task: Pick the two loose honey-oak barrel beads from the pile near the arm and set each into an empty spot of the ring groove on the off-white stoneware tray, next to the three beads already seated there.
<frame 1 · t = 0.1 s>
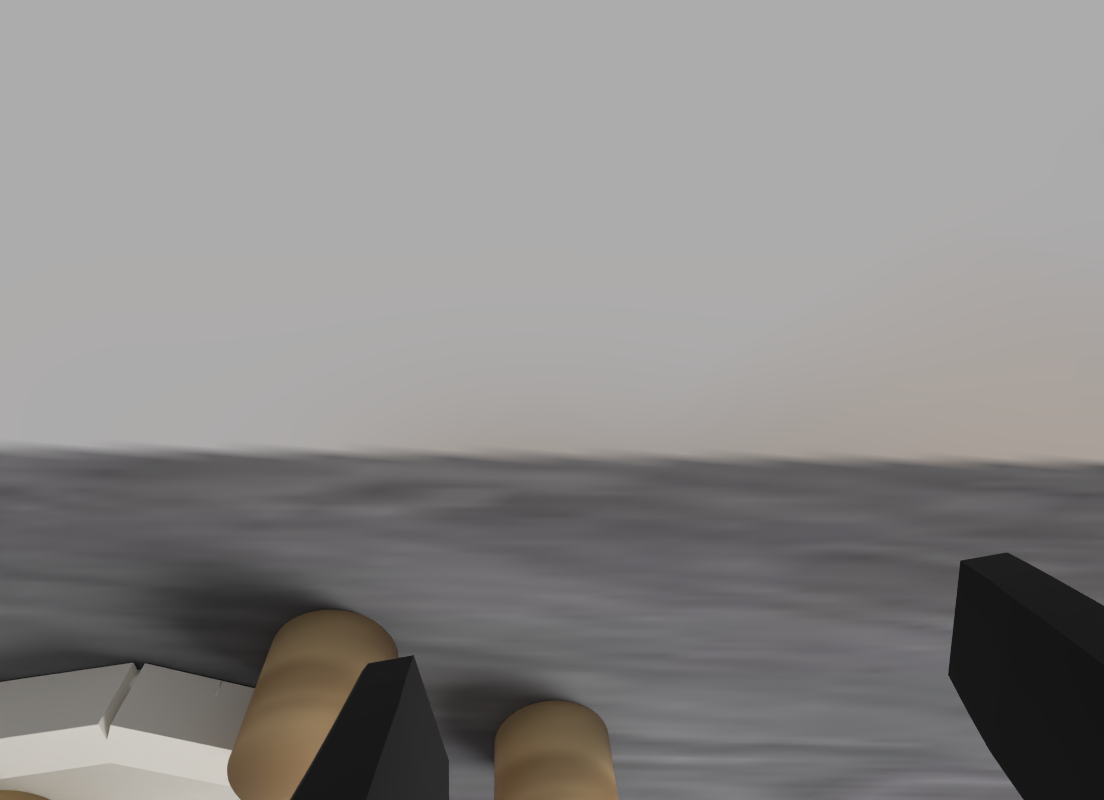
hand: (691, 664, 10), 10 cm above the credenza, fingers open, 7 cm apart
bead a: (551, 741, 25), on the credenza
bead b: (335, 657, 22), on the credenza
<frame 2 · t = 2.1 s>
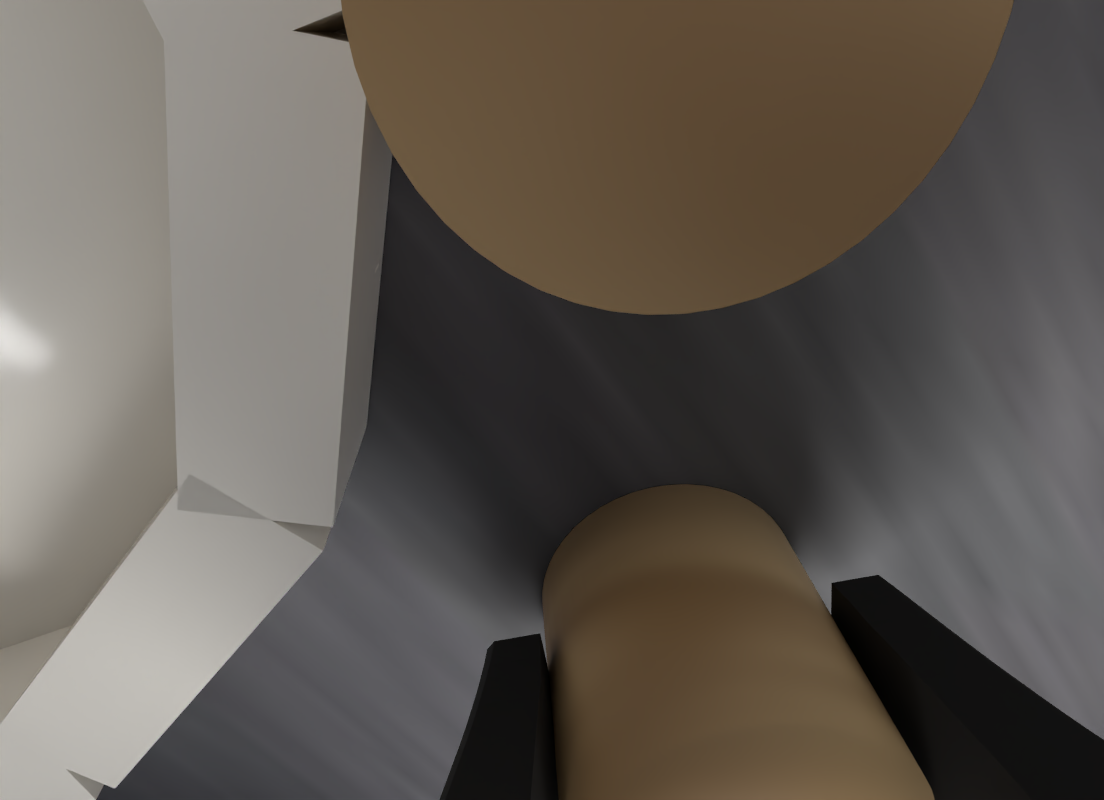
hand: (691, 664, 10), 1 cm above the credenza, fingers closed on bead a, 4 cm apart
bead a: (668, 591, 11), on the credenza, touching gripper
bead b: (597, 12, 8), on the credenza
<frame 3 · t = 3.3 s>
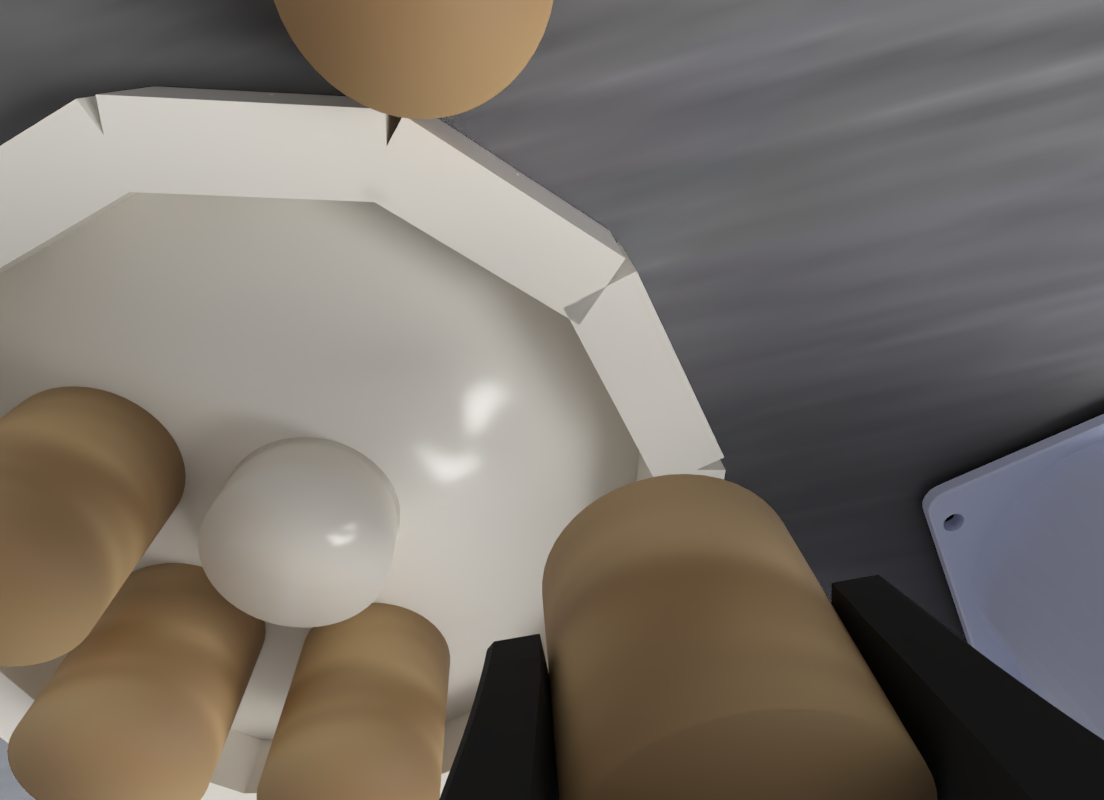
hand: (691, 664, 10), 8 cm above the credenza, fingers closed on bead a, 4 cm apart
bead seated 1: (95, 464, 16), point 1 cm above the credenza, touching tray
tray: (318, 498, 18), on the credenza
bead a: (668, 582, 11), point 7 cm above the credenza, touching gripper
bead seated 3: (376, 659, 19), point 1 cm above the credenza, touching tray
bead seated 2: (186, 624, 18), point 1 cm above the credenza, touching tray
when the fingers open (3 cm above the credenza, at t = 4.8 s): bead a drops 1 cm, resting on tray.
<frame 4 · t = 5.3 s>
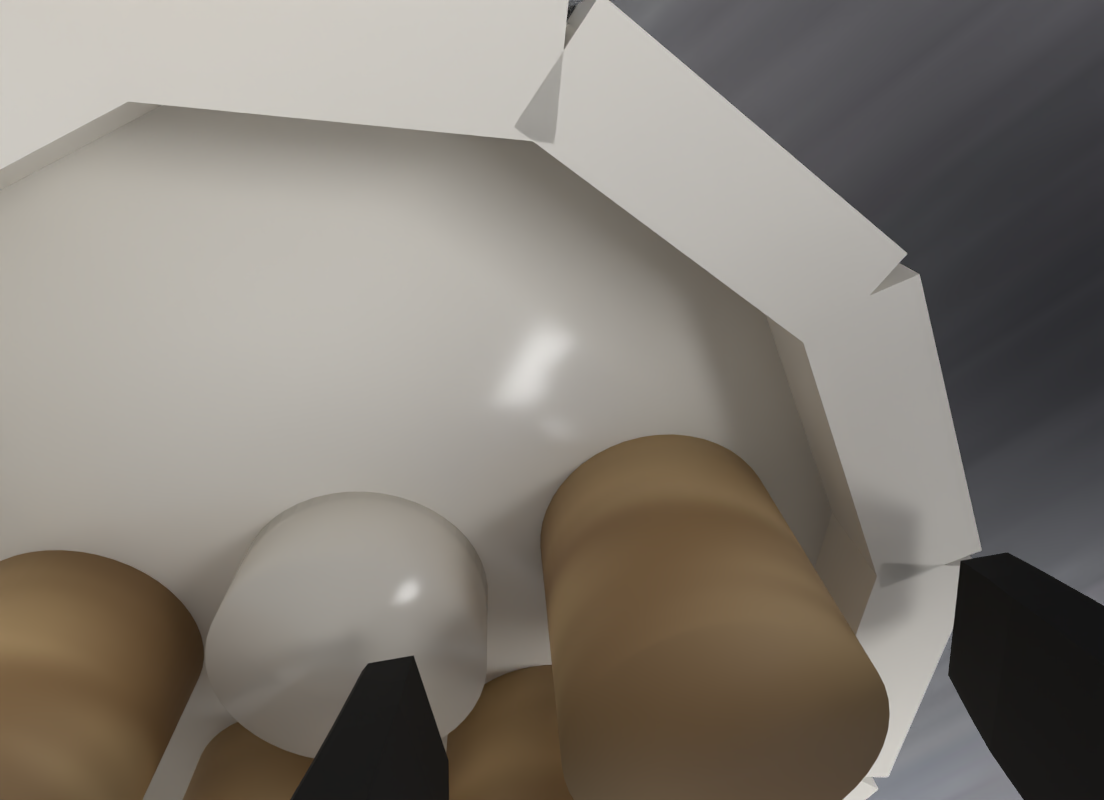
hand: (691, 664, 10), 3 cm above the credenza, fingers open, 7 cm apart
bead seated 1: (83, 642, 12), point 1 cm above the credenza, touching tray
tray: (371, 570, 13), on the credenza
bead a: (656, 536, 12), point 1 cm above the credenza, touching tray
bead seated 3: (548, 739, 14), point 1 cm above the credenza, touching tray
bead seated 2: (301, 781, 14), point 1 cm above the credenza, touching tray
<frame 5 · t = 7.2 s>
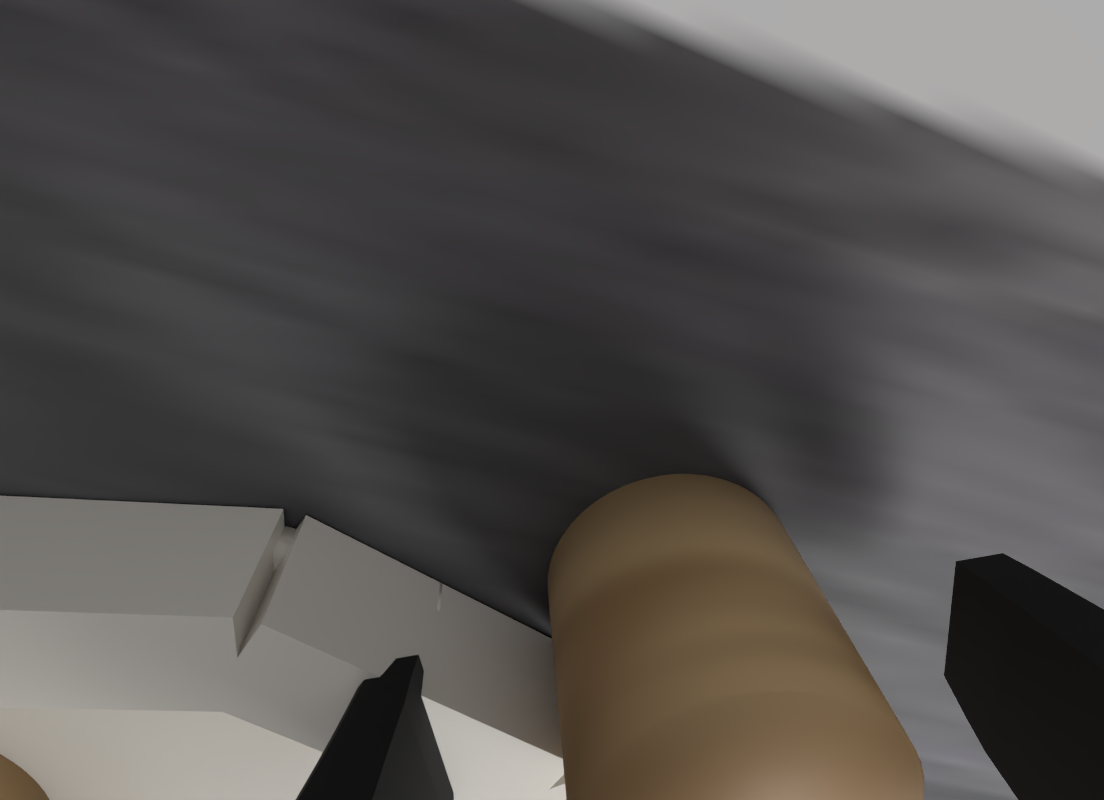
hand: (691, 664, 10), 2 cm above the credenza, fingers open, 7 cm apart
bead b: (669, 578, 11), on the credenza
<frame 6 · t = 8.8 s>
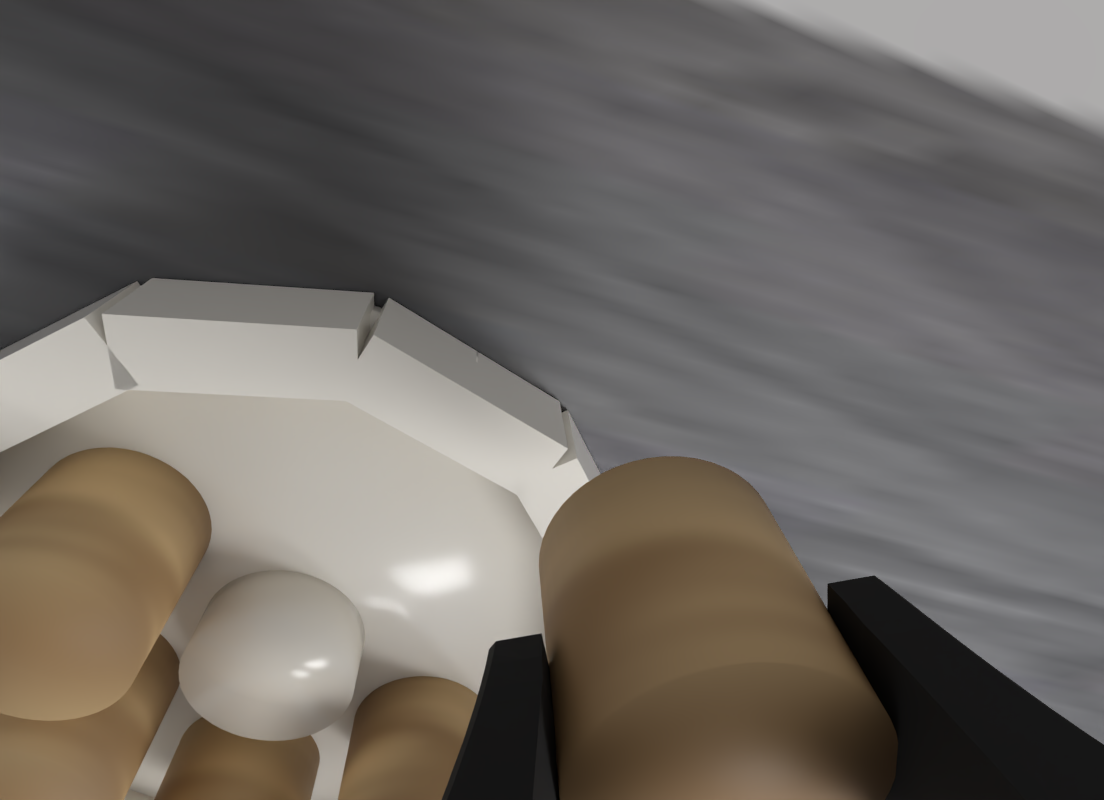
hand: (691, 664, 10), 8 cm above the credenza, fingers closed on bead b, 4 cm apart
bead seated 1: (125, 518, 17), point 1 cm above the credenza, touching tray
tray: (290, 616, 19), on the credenza
bead a: (423, 726, 21), point 1 cm above the credenza, touching tray
bead seated 3: (250, 756, 21), point 1 cm above the credenza, touching tray
bead b: (657, 559, 12), point 6 cm above the credenza, touching gripper
bead seated 2: (103, 665, 19), point 1 cm above the credenza, touching tray
when the fingers open (3 cm above the credenza, at t = 10.4 s): bead b stays where it is, resting on tray.
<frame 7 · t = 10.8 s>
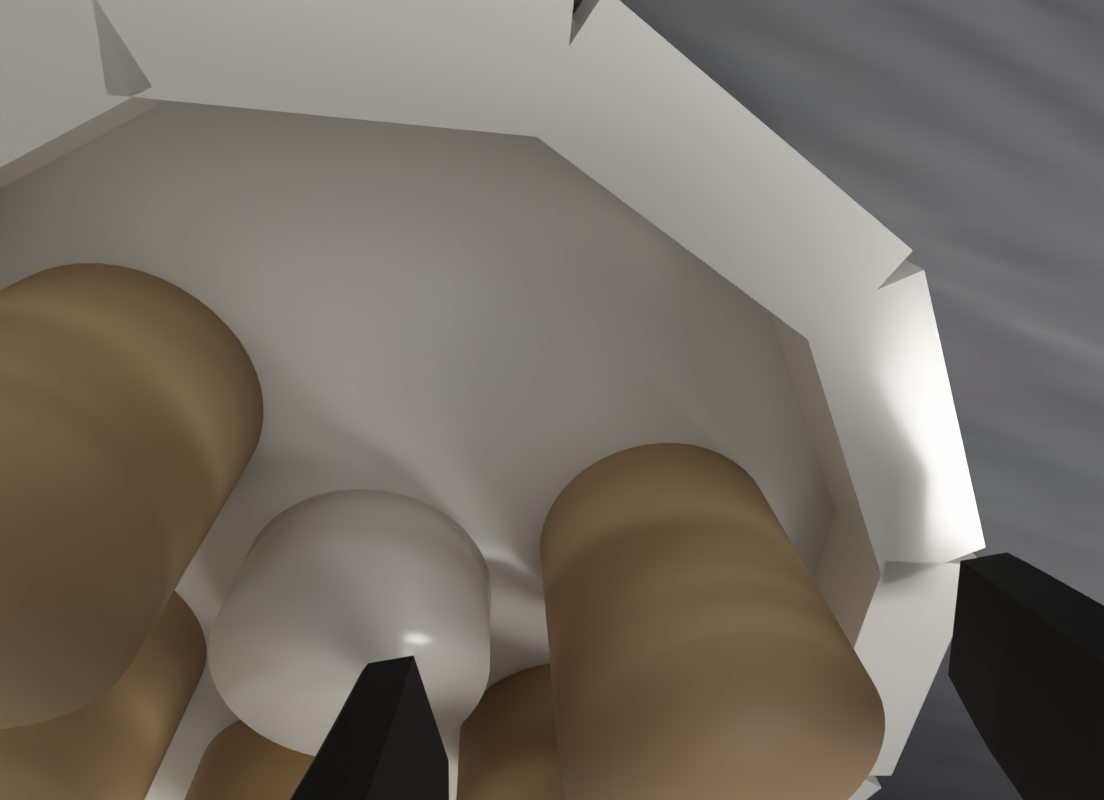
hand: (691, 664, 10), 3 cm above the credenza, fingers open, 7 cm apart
bead seated 1: (123, 395, 10), point 1 cm above the credenza, touching tray
tray: (374, 568, 13), on the credenza
bead a: (560, 737, 14), point 1 cm above the credenza, touching tray
bead seated 3: (304, 779, 14), point 1 cm above the credenza, touching tray
bead b: (655, 543, 12), point 1 cm above the credenza, touching tray
bead seated 2: (86, 640, 12), point 1 cm above the credenza, touching tray
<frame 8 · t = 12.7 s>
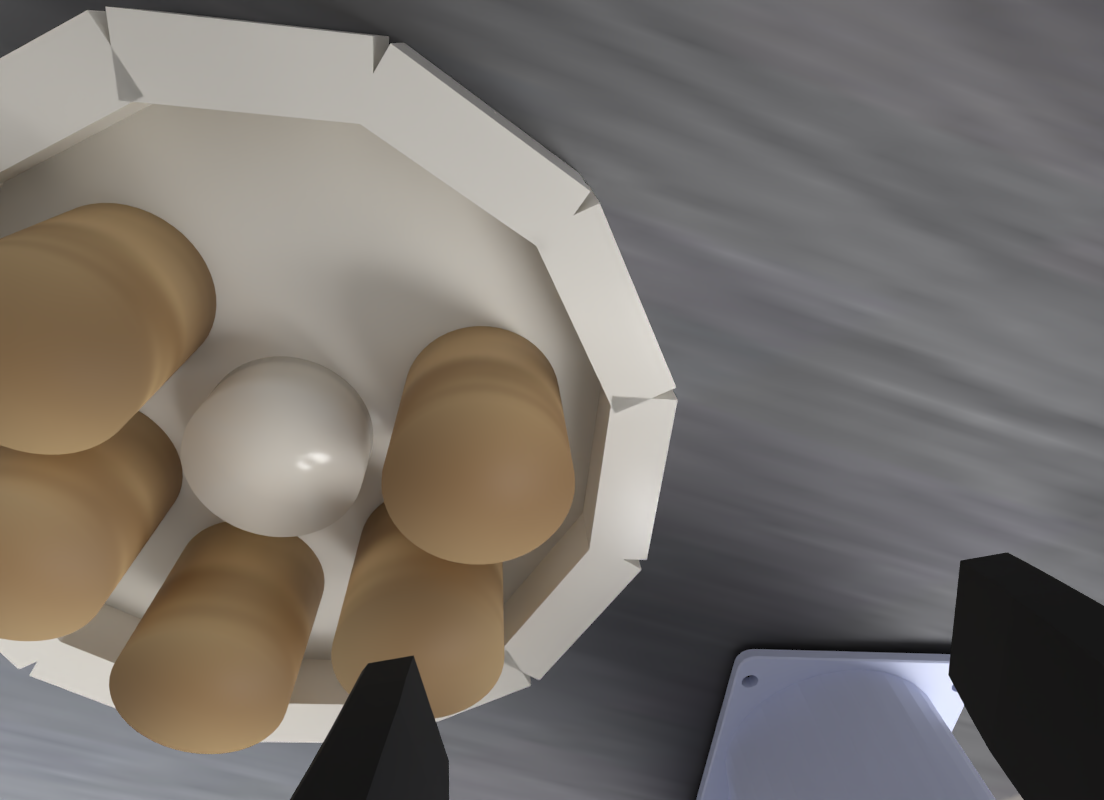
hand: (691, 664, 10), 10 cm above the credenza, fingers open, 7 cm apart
bead seated 1: (127, 289, 16), point 1 cm above the credenza, touching tray
tray: (296, 420, 19), on the credenza
bead a: (431, 547, 20), point 1 cm above the credenza, touching tray
bead seated 3: (252, 577, 20), point 1 cm above the credenza, touching tray
bead b: (482, 398, 18), point 1 cm above the credenza, touching tray
bead seated 2: (101, 464, 18), point 1 cm above the credenza, touching tray
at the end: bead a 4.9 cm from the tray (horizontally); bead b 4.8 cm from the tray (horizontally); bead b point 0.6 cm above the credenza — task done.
